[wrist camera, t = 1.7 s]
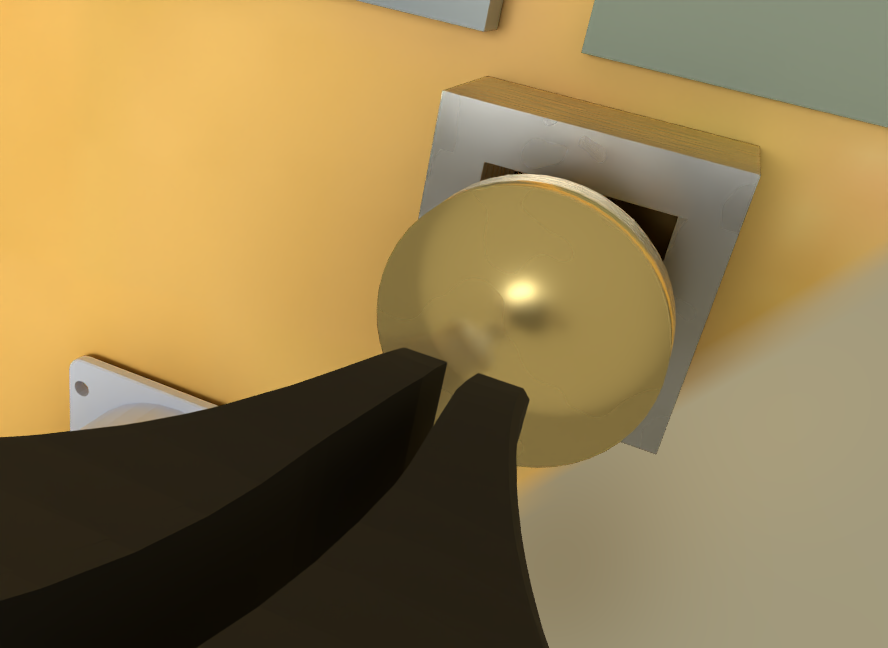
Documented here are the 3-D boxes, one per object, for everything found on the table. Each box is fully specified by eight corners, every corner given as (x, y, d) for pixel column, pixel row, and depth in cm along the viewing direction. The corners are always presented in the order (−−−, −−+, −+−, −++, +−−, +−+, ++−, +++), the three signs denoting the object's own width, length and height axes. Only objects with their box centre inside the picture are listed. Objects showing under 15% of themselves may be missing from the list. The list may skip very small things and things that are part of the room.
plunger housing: (669, 391, 19) (656, 454, 17) (437, 314, 21) (391, 361, 18) (759, 146, 17) (761, 175, 14) (487, 76, 18) (442, 90, 15)
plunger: (645, 404, 18) (618, 507, 14) (431, 332, 19) (358, 411, 15) (724, 182, 15) (715, 239, 12) (477, 116, 16) (402, 150, 13)
